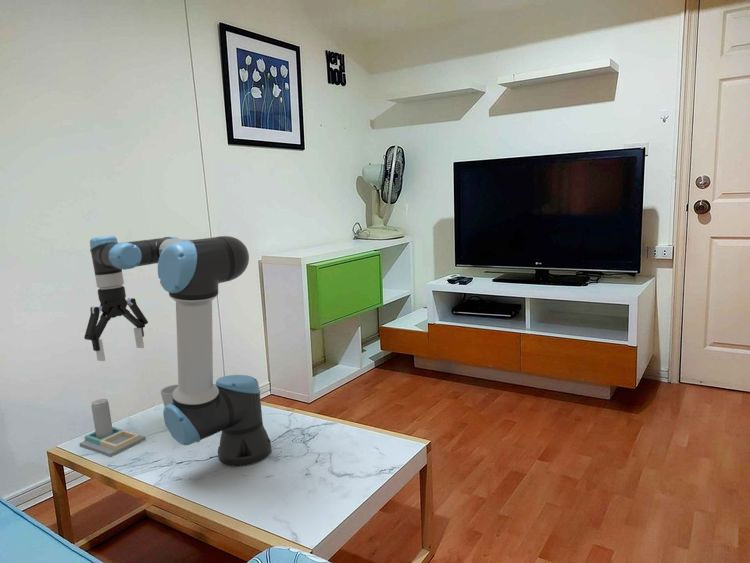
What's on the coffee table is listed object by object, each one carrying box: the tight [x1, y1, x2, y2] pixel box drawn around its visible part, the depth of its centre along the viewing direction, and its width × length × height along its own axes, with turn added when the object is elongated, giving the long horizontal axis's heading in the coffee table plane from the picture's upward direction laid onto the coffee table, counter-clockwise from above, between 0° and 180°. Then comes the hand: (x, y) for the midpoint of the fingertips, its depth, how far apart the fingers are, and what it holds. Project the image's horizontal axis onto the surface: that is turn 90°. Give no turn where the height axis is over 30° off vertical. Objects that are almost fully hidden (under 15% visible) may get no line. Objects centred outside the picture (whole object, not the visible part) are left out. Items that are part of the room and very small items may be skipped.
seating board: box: [78, 426, 147, 458], centre depth 168 cm, size 16×12×2 cm
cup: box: [160, 383, 178, 408], centre depth 180 cm, size 8×8×12 cm
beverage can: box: [90, 398, 113, 439], centre depth 169 cm, size 5×5×12 cm
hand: (121, 354), depth 168 cm, fingers open, 13 cm apart
